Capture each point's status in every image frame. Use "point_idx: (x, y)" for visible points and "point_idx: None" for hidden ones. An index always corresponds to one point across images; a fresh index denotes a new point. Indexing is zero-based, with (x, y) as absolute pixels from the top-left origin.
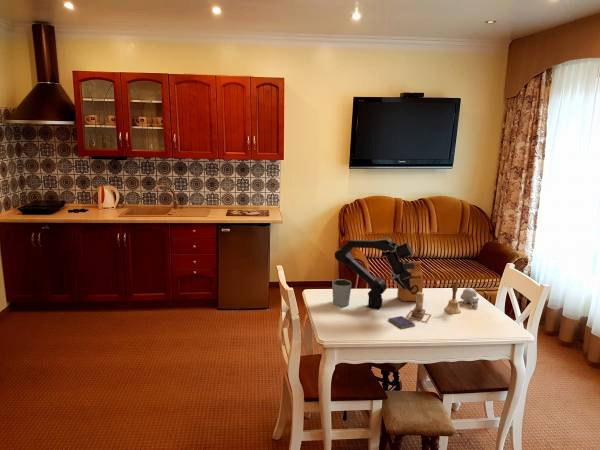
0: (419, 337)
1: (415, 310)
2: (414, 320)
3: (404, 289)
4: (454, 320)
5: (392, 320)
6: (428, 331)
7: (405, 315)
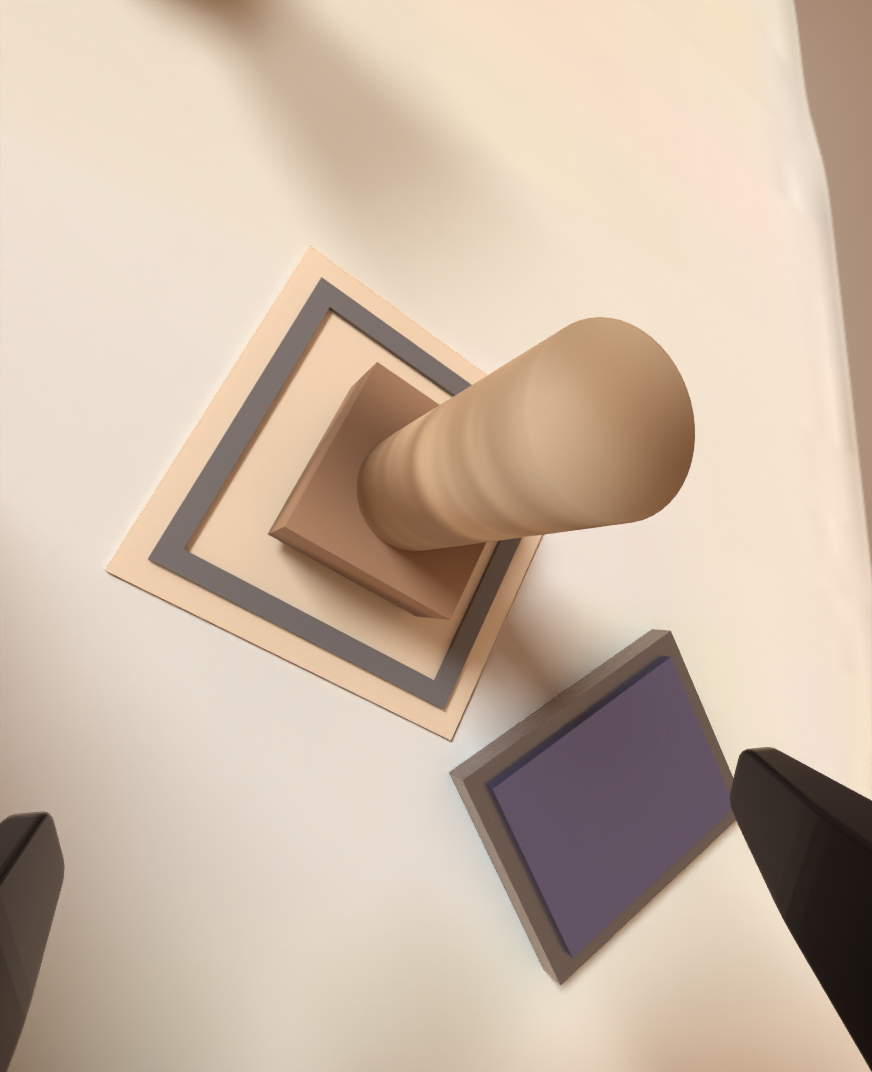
0: (849, 638)
1: (427, 550)
2: (514, 596)
3: (61, 861)
4: (455, 46)
5: (611, 922)
6: (742, 508)
7: (367, 697)
